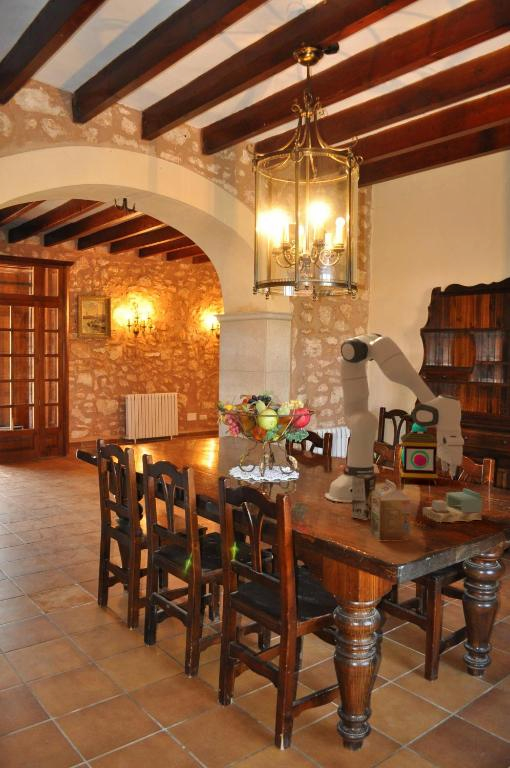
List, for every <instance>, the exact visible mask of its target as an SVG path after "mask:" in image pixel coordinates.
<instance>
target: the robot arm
mask: <svg viewBox="0 0 510 768" xmlns="http://www.w3.org/2000/svg"><path fill="white" fill-rule="evenodd" d="M340 353H341V356H340V357H341V358H340V360H339V363H340V364H339V370H340V372H339V373H340V379H341V380H340V381H341V388H342V394H343V413H344V415H343V417H344V418H343V422H344V425H345V426H346V428H347V430H349V431H350V438H349V443H348V445H347V458H346V459H347V464H346V465H345V466H344V465H342V464H341V465H340V466H339V467H338V468H339V469H340V470H341V471H342V472H343V473H342V474H340V475H339V476H338V477H337V478H336V479H335V480H333V481H332V482H331V483H330V487H329V492H327V493H324V495H325V497H326V498H328V499H330V500H333V501H340V502H343V503H352V482H353V477H355V476H357V475H360V474H369V475H375V467H374V445H375V441H376V436H377V431H378V428H379V426H380V425H379V419H378V418H377V416H376V414H375V413H373V412H372V411H370V410H369V396H370V389H369V384H368V383H369V382H368V376H367V370H366V364H367V362H368V361H369V362H372V361H375V363H376V364H377V366H378V367H379V369H380V370H381V372H382V374H383V375H384V376H385V377H386V378H387V379H388V380H389V381H390V382H393V383H395V384H399V385H402V386H404V387H406V388H408V389H409V390H410V391H411V392H412V393H413V395H414V396H415V397H416V399H418V401H419V402H420V404H417V405H416V406H415V407H414V408H413V410H412V419H413V422H414V423H416V424H417V425H418V426H420V427H426V428H431V427H436V440H437V448H436V455H437V456H438V457H439V460H440V462H441V470H442V471H444V472H447V471H448V470H449V474H448V475H449V476H451V477H455V476H456V471H457V467H459V466H461V465H462V463H463V451H464V450H463V449H464V448H463V446H464V444H465V440H464V438H463V436H462V427H461V420H462V409H461V407H462V406H461V402H460V400H459V398H458V397H457V396H455V395H451V394H439V395H438V396H436V394H435V392H433V390H432V389H431V388H430V386H429V385H428V384H427V383H426V382H425V380H424V379H423V378H422V376H421V375H420V373H418V371H416V369H415V368H414V367H413V366H412V364H411V362H410V361H409V359H408V358H407V357H406V355H405V354H404V352H403V350H402V349H401V348H400V347H399V345H398V344H397V343H396V342H395V341H394V339H392V338H391V337H389V336H388V335H382V334H378V333H374V332H373V333H367V334H360V335H358V336H355V337H349V338H348V339H345V341H343V342H342V344H341V346H340ZM448 464H449V468H448ZM325 497H324V498H325ZM326 498H325V499H326Z"/></svg>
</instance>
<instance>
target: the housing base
mask: <svg viewBox="0 0 510 768" xmlns="http://www.w3.org/2000/svg"><path fill="white" fill-rule="evenodd" d="M482 514H483V513H482V512H468V513H462V512H461V505H452V506H447V513H436V512H434V511H432V506H423V507H422V515H423V516H424V515H425V516H424V517H426V516H427V517H426V518H428V517H429V518H428V519H430V518H431V519H433V520H435V521H437V522H440V523H439V524H442V523H441V522H451V523H456V522H455V521H466V522H473V521H472V520H481V521H482V516H483V515H482ZM431 519H430V520H431ZM433 520H432V521H433ZM435 521H434V522H435ZM437 522H436V523H437Z"/></svg>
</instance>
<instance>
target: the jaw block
mask: <svg viewBox="0 0 510 768" xmlns="http://www.w3.org/2000/svg"><path fill="white" fill-rule="evenodd" d="M431 507H432V511H434V512H436V513H447V502H446V500H443V499H436V500H435V499H434V500H431Z"/></svg>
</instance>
